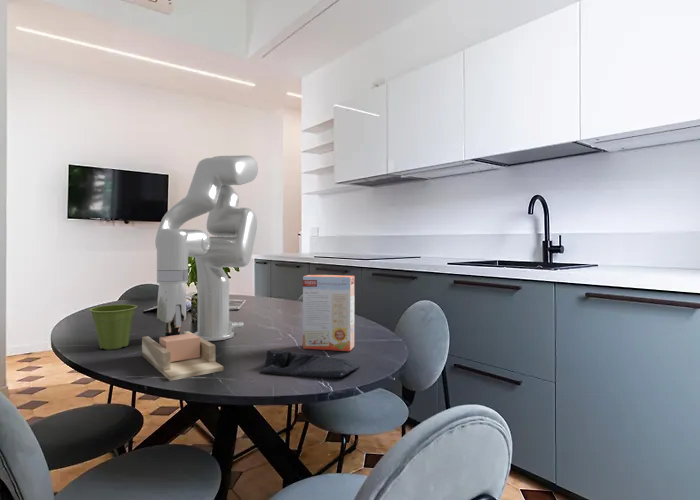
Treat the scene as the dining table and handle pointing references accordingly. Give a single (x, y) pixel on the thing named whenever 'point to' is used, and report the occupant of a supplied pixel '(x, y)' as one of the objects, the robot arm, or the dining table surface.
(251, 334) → the dining table surface
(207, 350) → the chute
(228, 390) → the dining table surface
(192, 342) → the block
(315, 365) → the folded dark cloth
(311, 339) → the cracker box
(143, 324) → the dining table surface
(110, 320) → the plant pot
